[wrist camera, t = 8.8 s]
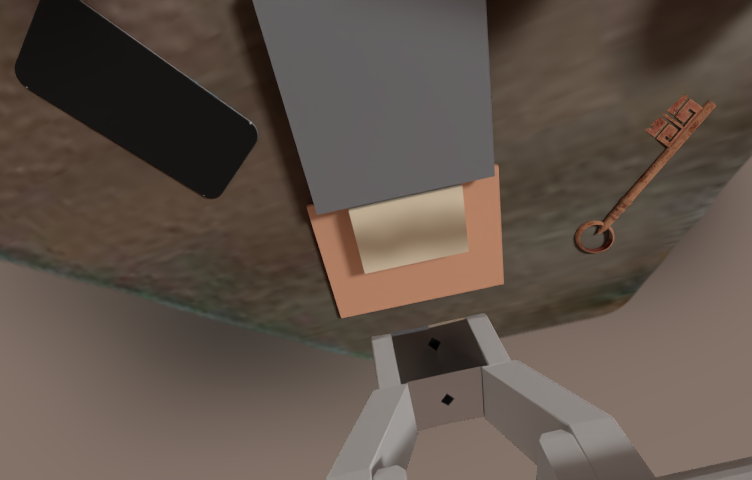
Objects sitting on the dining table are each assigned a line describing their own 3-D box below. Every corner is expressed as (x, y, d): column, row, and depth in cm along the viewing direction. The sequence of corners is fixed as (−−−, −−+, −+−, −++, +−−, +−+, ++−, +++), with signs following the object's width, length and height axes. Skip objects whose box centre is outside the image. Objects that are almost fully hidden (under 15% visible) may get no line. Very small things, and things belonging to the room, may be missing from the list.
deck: (251, -26, 25) (242, -32, 22) (468, -77, 24) (481, -87, 22) (318, 202, 32) (317, 214, 30) (484, 166, 32) (494, 176, 30)
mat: (306, 204, 32) (306, 207, 32) (496, 163, 32) (498, 165, 31) (341, 315, 38) (341, 318, 38) (501, 280, 38) (503, 283, 37)
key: (673, 78, 31) (549, 230, 36) (682, 78, 30) (554, 234, 35) (723, 115, 32) (596, 256, 37) (732, 116, 31) (601, 261, 37)
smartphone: (47, -23, 24) (263, 131, 29) (55, -22, 24) (265, 129, 29) (9, 78, 26) (215, 203, 31) (16, 77, 27) (217, 200, 32)
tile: (348, 201, 32) (348, 211, 30) (455, 177, 32) (462, 186, 30) (363, 261, 35) (364, 274, 33) (462, 240, 35) (468, 251, 33)
